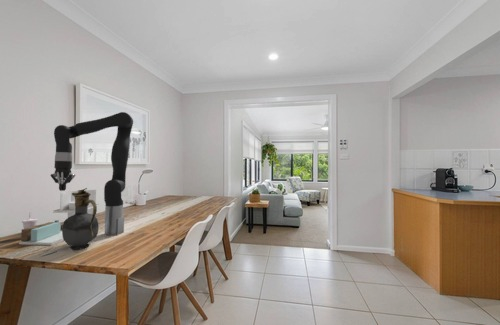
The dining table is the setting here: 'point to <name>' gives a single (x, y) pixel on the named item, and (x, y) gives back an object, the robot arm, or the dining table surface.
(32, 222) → the smoothie
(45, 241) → the board
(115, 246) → the dining table surface
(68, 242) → the pitcher
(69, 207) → the architectural model
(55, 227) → the arm
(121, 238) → the dining table surface
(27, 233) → the arm
